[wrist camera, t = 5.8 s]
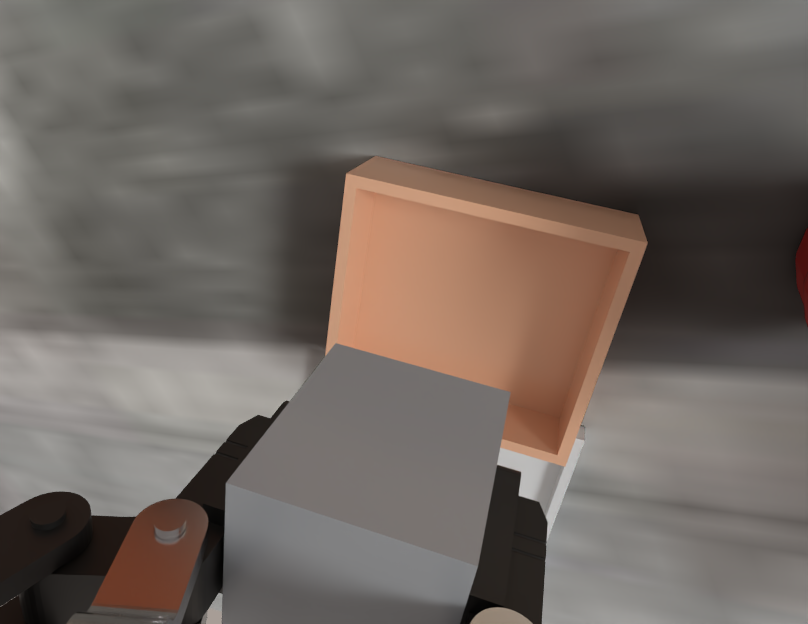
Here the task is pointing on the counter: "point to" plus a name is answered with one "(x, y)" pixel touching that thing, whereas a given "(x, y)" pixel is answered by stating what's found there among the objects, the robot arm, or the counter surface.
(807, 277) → the plastic cup
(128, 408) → the counter surface
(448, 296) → the dish
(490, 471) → the grey stacked cube
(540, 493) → the tray
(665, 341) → the counter surface
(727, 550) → the counter surface
